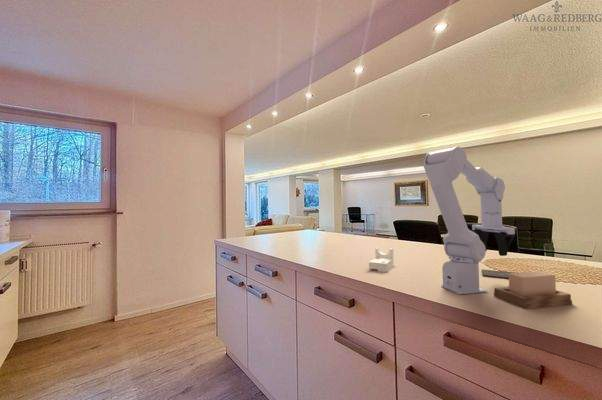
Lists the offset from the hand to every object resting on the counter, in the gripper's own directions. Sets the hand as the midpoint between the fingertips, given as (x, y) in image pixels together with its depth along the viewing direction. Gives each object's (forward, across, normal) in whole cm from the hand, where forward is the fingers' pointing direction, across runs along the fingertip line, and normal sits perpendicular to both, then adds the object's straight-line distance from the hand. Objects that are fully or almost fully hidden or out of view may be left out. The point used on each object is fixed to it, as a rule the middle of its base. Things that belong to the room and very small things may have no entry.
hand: (492, 253), depth 87 cm
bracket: (+10, +26, +27) cm, 39 cm away
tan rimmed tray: (+9, -16, +5) cm, 20 cm away
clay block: (+8, -16, +5) cm, 19 cm away
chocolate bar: (+10, +3, -11) cm, 15 cm away
